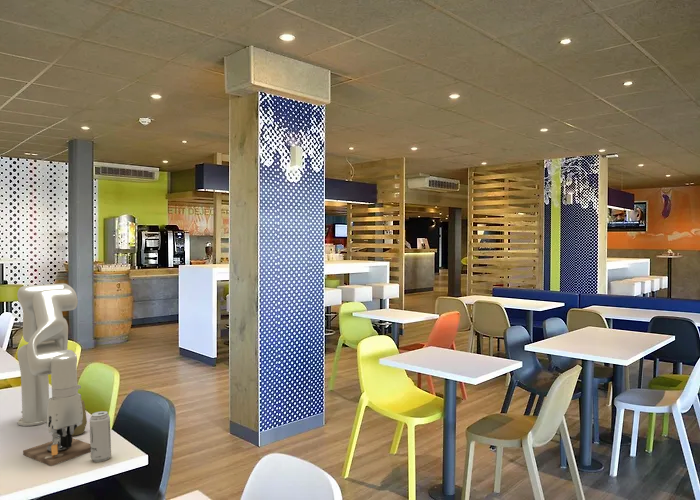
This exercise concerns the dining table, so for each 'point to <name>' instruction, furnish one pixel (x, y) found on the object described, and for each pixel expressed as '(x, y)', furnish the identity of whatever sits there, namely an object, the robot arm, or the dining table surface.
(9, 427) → the dining table surface
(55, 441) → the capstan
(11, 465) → the dining table surface
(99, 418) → the energy drink can
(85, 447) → the walnut stand
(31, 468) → the dining table surface
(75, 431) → the squeeze bottle
